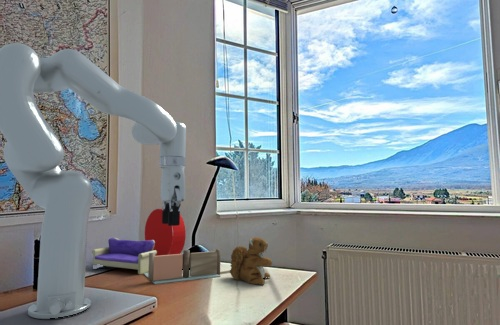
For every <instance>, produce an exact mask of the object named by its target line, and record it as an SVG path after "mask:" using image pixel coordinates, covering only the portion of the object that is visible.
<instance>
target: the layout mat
mask: <svg viewBox="0 0 500 325" xmlns="http://www.w3.org/2000/svg"><path fill="white" fill-rule="evenodd" d="M143 275H144V276H145V277H146V278H147V279H148V272H146V273H143ZM189 275H190V270H189ZM218 277H219V278H220V277H221V274H220V275H218V274H208V275H199V276H189V278H183V270H182V277H181V278H172V279H163V280H155V281H151V283H153V285H161V284H168V283H169V284H170V283H179V282H186V281H193V280H195V281H196V280H203V279H211V278H212V279H213V278H218Z"/></svg>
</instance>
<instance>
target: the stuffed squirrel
mask: <svg viewBox="0 0 500 325" xmlns="http://www.w3.org/2000/svg"><path fill="white" fill-rule="evenodd" d="M268 249H269V245H268V242H267V241H266V240H265V239H263V238H261V237H260V236H259V237H258V236H257V237H252V238H249V239H248V249H247V247H245V246H241V245H240V246H236V247H235V248H234V249H233V250H232V253H231V255H230V259H231V261H230V267H231V268H230V269H229V273H230V275H231V277H232V278H233V279H234V280H236V281H245V282H246V283H248V284H251V285H256V284H259V285H258V286H264V285H265V284H266V279H263V278H266V277H271V275H270V274H269V273H268V272H266V271H265V267H271V266H272V265H273V261H272V259H271V258H270V257H265V256H264V255H263V254H264V253H265V254H266V253H267V251H268ZM263 284H264V285H263Z"/></svg>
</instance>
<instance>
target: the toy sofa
mask: <svg viewBox="0 0 500 325" xmlns="http://www.w3.org/2000/svg"><path fill="white" fill-rule="evenodd" d="M107 243H108V246H107V247H101V248H95V249H92V250H91V253H92V266H93V265H97V264H100V265H103V266H106V267H111V268H121V269H128V270H129V269H130V270H137V274H138V275H139V276H140V275H144V273H148V270H149V253H155V255H156V254H157V251H156V250H153V249H154V245H155V241H154V240H148V241H147V240H146V241H145V240H131V239H119V238H117V237H111V238H109V239H108V242H107Z"/></svg>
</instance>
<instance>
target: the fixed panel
mask: <svg viewBox="0 0 500 325" xmlns="http://www.w3.org/2000/svg"><path fill="white" fill-rule="evenodd" d="M182 252H183V253H182V254H183V268H182V269H183V278H189V276H199V275H208V274H218V275H220V276H221V255H222V254H221V252H222V250H221V249H219V248H218V249H215V250H214V251H213V250H212V251H201V252H199V251H198V252H190V249H184V250H182ZM189 268H190V275H189Z"/></svg>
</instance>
